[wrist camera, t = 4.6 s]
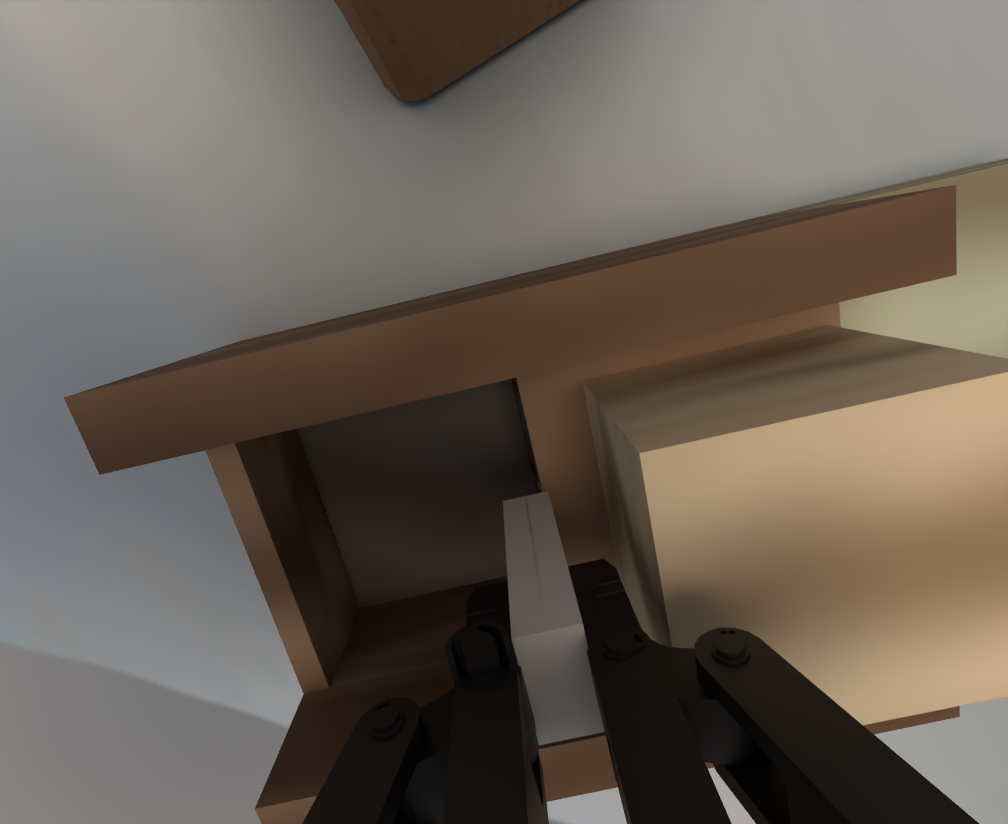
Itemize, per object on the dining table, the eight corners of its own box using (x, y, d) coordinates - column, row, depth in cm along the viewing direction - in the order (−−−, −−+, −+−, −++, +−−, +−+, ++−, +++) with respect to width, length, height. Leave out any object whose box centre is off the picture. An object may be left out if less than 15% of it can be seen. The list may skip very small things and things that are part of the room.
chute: (240, 341, 22) (63, 397, 13) (986, 162, 21) (1370, 85, 12) (351, 647, 26) (277, 856, 17) (983, 509, 25) (1269, 652, 16)
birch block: (582, 380, 18) (639, 453, 11) (827, 325, 17) (1040, 364, 11) (622, 590, 20) (690, 759, 13) (841, 543, 20) (1027, 692, 13)
